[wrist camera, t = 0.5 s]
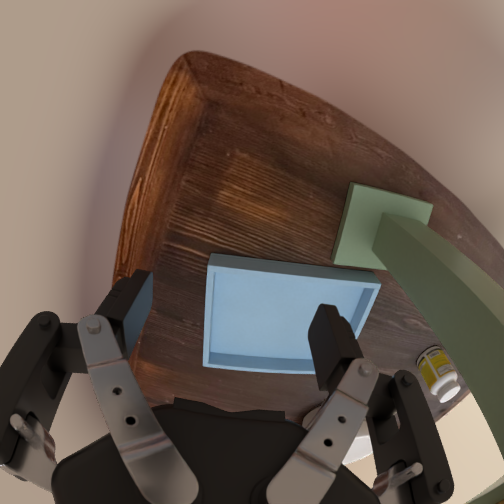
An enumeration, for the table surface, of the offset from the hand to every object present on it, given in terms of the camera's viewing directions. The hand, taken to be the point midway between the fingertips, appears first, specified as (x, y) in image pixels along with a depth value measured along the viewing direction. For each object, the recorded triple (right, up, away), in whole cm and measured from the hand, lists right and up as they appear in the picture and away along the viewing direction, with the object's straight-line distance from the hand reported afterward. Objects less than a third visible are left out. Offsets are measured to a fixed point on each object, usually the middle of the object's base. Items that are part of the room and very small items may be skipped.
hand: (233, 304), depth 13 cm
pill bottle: (+37, -19, +31) cm, 52 cm away
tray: (+5, -7, +25) cm, 27 cm away
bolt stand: (+17, +5, +19) cm, 26 cm away
